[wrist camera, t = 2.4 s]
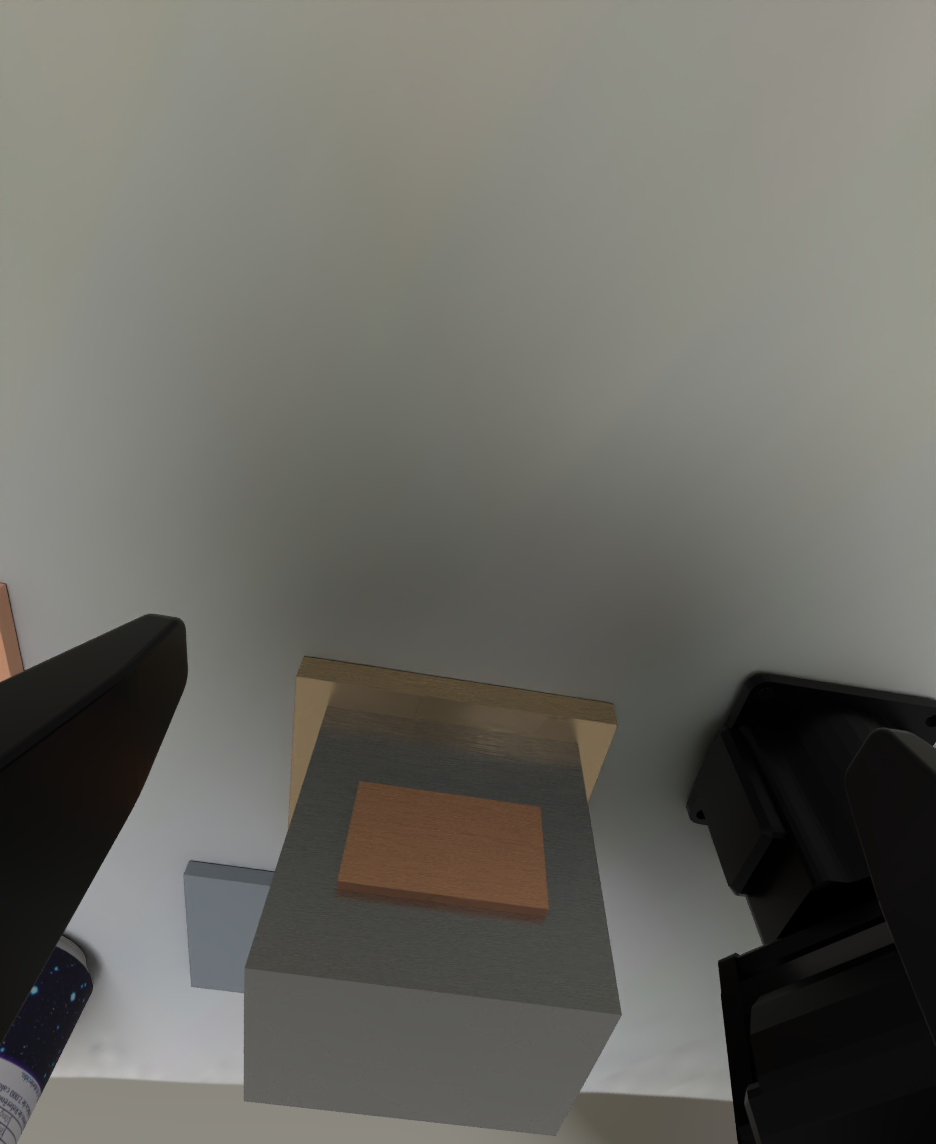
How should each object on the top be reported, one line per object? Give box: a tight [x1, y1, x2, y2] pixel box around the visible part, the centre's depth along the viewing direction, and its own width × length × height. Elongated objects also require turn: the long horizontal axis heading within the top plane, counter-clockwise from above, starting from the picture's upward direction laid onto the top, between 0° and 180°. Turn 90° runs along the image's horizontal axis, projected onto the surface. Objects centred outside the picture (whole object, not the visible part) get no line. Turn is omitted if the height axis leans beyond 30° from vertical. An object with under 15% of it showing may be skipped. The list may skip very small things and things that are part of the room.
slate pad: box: [184, 861, 275, 993], centre depth 28 cm, size 8×8×1 cm
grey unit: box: [244, 656, 622, 1136], centre depth 19 cm, size 10×8×9 cm
